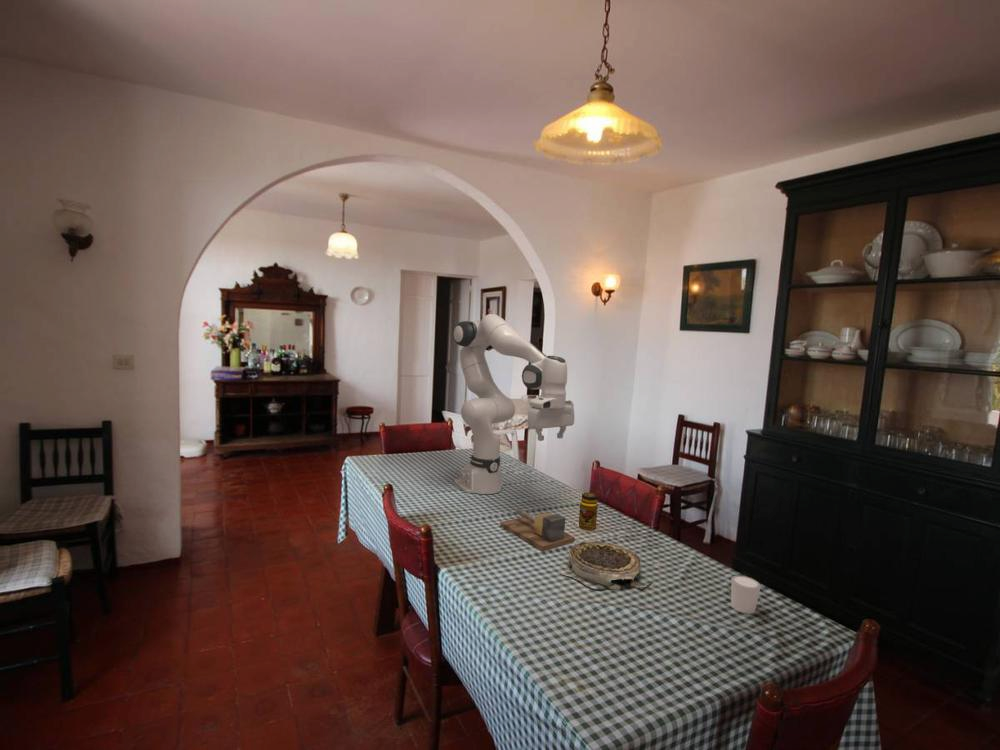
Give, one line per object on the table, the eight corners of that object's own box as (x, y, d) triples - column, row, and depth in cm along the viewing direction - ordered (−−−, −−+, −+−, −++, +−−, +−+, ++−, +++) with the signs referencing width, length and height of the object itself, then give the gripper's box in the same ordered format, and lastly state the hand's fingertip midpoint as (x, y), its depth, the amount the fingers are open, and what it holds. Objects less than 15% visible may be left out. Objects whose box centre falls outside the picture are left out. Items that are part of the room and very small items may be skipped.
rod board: (500, 526, 174) (501, 502, 173) (530, 518, 182) (532, 496, 181) (542, 551, 156) (544, 524, 155) (574, 541, 165) (576, 516, 164)
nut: (533, 531, 166) (534, 515, 165) (546, 528, 169) (547, 512, 169) (541, 536, 163) (542, 519, 162) (554, 532, 166) (555, 516, 166)
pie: (537, 562, 150) (538, 546, 149) (596, 542, 167) (598, 527, 167) (613, 605, 128) (615, 587, 128) (672, 577, 146) (674, 561, 145)
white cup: (732, 597, 135) (735, 572, 134) (760, 607, 131) (763, 581, 130) (725, 607, 130) (728, 581, 129) (754, 618, 125) (757, 591, 125)
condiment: (582, 532, 173) (585, 498, 172) (571, 522, 181) (574, 490, 180) (601, 530, 175) (604, 497, 174) (590, 521, 183) (592, 489, 182)
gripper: (567, 398, 189) (564, 435, 191) (525, 401, 177) (523, 439, 178) (579, 401, 184) (576, 438, 186) (537, 404, 172) (535, 443, 173)
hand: (550, 439), depth 182 cm, fingers open, 8 cm apart
